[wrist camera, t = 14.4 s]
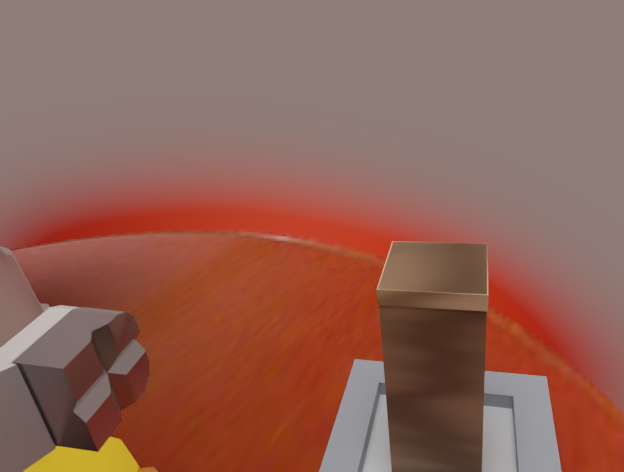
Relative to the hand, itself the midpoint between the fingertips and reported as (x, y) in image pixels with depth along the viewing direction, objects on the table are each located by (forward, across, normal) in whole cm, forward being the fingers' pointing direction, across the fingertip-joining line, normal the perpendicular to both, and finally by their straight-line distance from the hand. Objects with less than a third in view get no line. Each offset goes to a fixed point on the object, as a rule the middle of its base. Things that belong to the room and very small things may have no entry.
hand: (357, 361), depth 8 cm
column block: (+14, 0, +19) cm, 24 cm away
